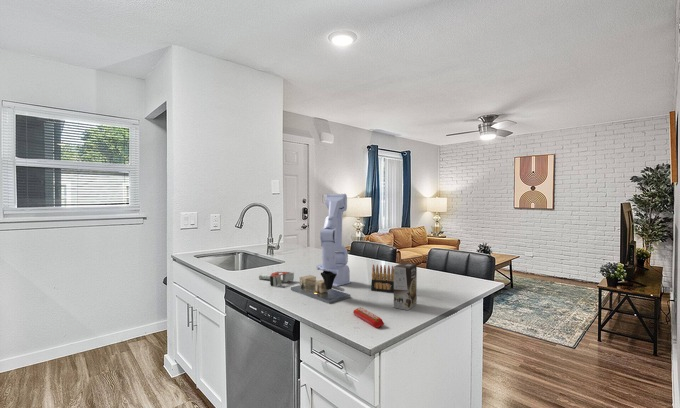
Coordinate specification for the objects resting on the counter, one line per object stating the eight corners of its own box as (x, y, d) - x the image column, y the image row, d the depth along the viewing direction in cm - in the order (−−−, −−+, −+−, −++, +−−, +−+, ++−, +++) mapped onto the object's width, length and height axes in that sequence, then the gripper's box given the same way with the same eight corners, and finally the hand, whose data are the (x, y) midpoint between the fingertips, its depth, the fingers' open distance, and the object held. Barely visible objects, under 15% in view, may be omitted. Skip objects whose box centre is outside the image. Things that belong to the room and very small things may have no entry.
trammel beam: (310, 283, 160) (310, 275, 160) (345, 294, 142) (345, 284, 142) (298, 286, 156) (298, 277, 155) (333, 298, 138) (332, 287, 138)
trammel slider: (321, 289, 150) (321, 279, 149) (327, 291, 147) (327, 281, 146) (314, 291, 147) (314, 281, 147) (320, 293, 144) (320, 283, 144)
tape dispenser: (259, 281, 177) (258, 289, 158) (258, 271, 177) (258, 278, 158) (292, 277, 181) (296, 284, 162) (292, 267, 181) (295, 273, 162)
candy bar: (351, 315, 122) (351, 306, 122) (360, 313, 124) (360, 305, 124) (376, 330, 108) (376, 321, 108) (385, 328, 110) (385, 319, 110)
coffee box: (409, 310, 126) (409, 267, 125) (393, 307, 129) (393, 266, 129) (417, 304, 133) (417, 263, 133) (402, 301, 137) (401, 261, 136)
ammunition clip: (371, 290, 152) (370, 264, 152) (372, 289, 154) (372, 263, 154) (394, 293, 148) (394, 266, 148) (395, 292, 150) (395, 265, 150)
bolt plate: (311, 285, 162) (311, 282, 162) (350, 297, 142) (350, 294, 142) (290, 289, 154) (290, 287, 154) (329, 303, 134) (328, 300, 134)
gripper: (310, 256, 145) (311, 287, 146) (332, 260, 135) (332, 294, 135) (323, 254, 150) (323, 284, 150) (345, 258, 139) (345, 291, 140)
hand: (328, 288), depth 143 cm, fingers closed
